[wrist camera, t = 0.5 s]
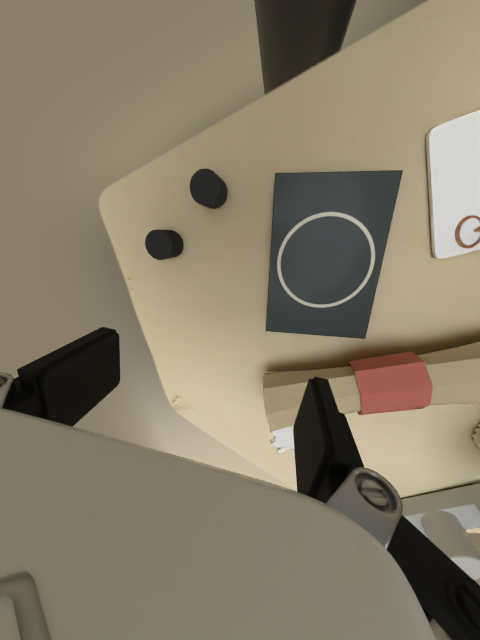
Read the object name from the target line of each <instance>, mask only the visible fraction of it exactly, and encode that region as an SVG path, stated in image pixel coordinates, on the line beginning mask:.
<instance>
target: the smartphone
mask: <svg viewBox="0 0 480 640" xmlns="http://www.w3.org/2000/svg"><path fill="white" fill-rule="evenodd" d="M426 151H427V168H428V186H429V203H430V221H431V239H432V254H433V256H434V257H435V258H439V259H444V258H448V257H452V256H456V255H460V254H464V253H468V252H472V251H476V250H480V243H479V244H477V245H476V246H474V247H472V248H463V247H461V246H460V245H459V244H458V243H457V242H456V239H455V230H456V227H457V225H458V223H459V222H460V221H461V220H462V219H463V218H465V217H467V216H470V215H475V216H478V217H480V110H478V111H475V112H472V113H469V114H467V115H464V116H461V117H459V118H456V119H453V120H451V121H448V122H445V123H443V124H440V125H438V126H436V127H434V128H433V129H431V130H430V131H429V132H428V134H427V136H426ZM479 226H480V221H479V220H478V219H476V218H470V219H468V220H466V221H465V222H464V223H463V224H462V226H461V229H460V239H461V241H462V242H463V243H464V244H466V245H472V244H474V243H475V242H476V241H477V240H478V239H479V237H480V232H473V230H474V229H476V228H478V227H479Z"/></svg>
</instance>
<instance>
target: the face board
mask: <svg viewBox="0 0 480 640" xmlns="http://www.w3.org/2000/svg"><path fill="white" fill-rule="evenodd" d="M401 176H402V170H401V171H357V172H312V173H276V174H275V190H274V207H273V224H272V241H271V258H270V274H269V291H268V308H267V325H266V331H272V332H285V333H298V334H311V335H324V336H337V337H350V338H363V339H365V337H366V332H367V328H368V323H369V319H370V314H371V310H372V305H373V301H374V296H375V292H376V288H377V283H378V279H379V274H380V270H381V265H382V261H383V256H384V252H385V247H386V243H387V238H388V234H389V229H390V225H391V221H392V216H393V212H394V207H395V203H396V198H397V194H398V189H399V185H400V180H401Z"/></svg>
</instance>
